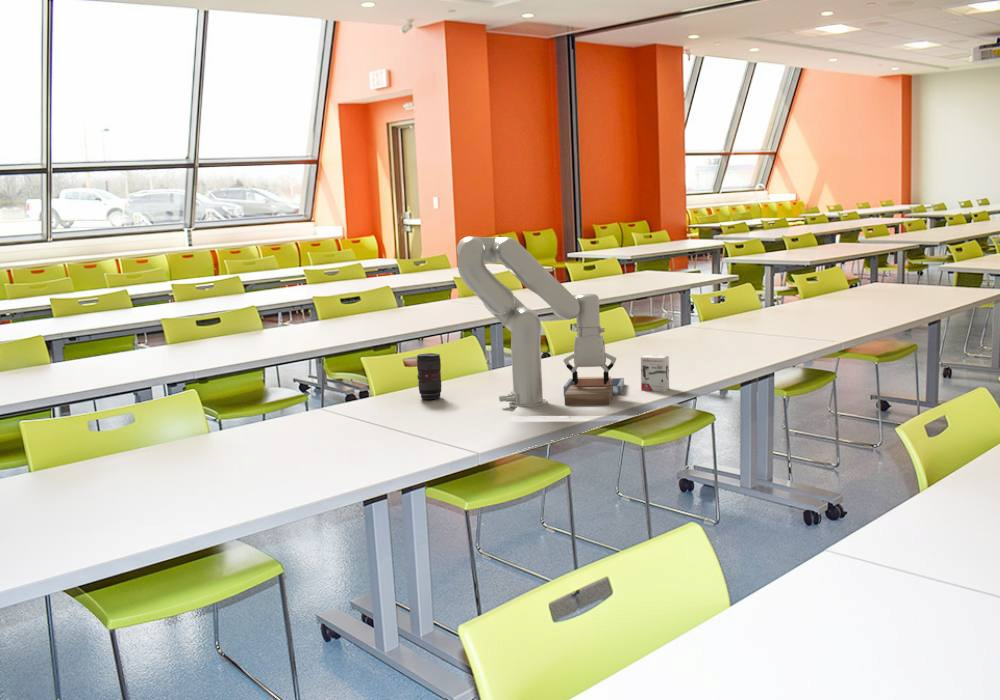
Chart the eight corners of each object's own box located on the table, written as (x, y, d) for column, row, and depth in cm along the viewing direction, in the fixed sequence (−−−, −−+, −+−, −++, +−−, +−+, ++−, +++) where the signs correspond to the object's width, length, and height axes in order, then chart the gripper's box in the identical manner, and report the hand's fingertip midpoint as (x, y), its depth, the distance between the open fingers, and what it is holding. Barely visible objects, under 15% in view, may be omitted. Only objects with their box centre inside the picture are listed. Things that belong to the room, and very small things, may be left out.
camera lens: (439, 399, 305) (436, 355, 303) (416, 399, 307) (413, 356, 305) (445, 395, 313) (442, 352, 311) (423, 395, 314) (420, 353, 312)
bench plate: (609, 404, 282) (608, 393, 281) (564, 405, 285) (564, 394, 284) (613, 395, 297) (612, 384, 297) (571, 395, 300) (570, 385, 300)
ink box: (640, 391, 302) (639, 356, 300) (645, 388, 306) (644, 354, 304) (665, 392, 297) (664, 357, 296) (669, 389, 302) (669, 355, 300)
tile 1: (609, 385, 295) (609, 378, 294) (573, 386, 297) (573, 378, 297) (611, 384, 298) (610, 376, 298) (575, 384, 301) (575, 377, 301)
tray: (620, 394, 297) (620, 386, 296) (563, 395, 301) (563, 386, 300) (624, 386, 312) (623, 377, 312) (569, 387, 316) (569, 378, 316)
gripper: (616, 329, 294) (618, 381, 296) (564, 331, 298) (566, 382, 300) (614, 332, 286) (616, 385, 289) (560, 334, 290) (563, 386, 293)
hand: (590, 383), depth 294 cm, fingers open, 9 cm apart
